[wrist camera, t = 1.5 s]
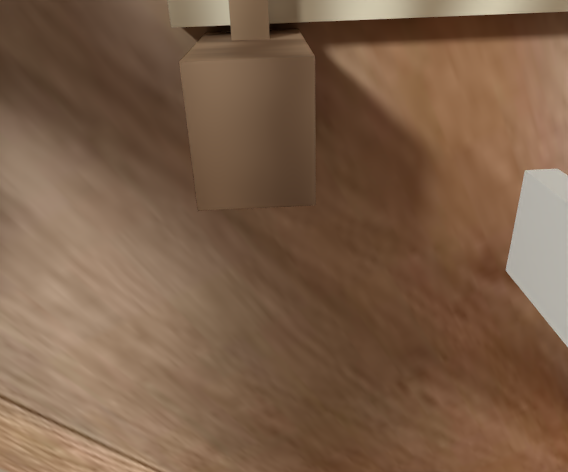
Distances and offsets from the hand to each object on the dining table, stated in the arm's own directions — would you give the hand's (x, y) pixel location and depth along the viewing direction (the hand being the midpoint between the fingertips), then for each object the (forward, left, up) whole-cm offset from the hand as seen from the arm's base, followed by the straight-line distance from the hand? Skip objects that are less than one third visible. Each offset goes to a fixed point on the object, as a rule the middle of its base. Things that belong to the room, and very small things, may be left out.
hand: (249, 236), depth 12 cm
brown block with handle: (0, +3, -19) cm, 19 cm away
